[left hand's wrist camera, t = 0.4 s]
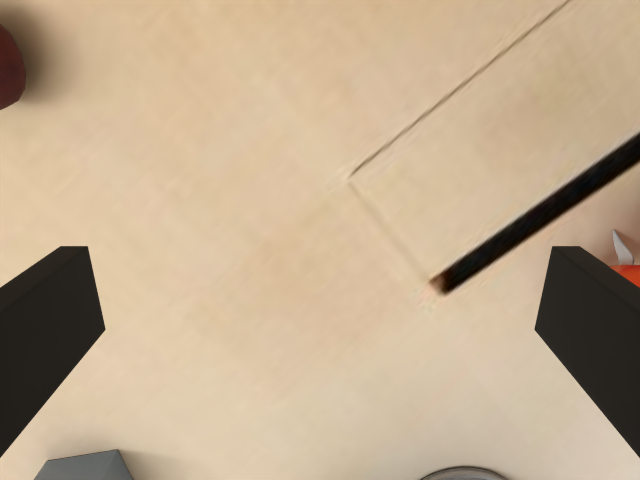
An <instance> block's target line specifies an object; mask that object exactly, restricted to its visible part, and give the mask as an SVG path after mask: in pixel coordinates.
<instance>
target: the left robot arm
mask: <svg viewBox="0 0 640 480" xmlns="http://www.w3.org/2000/svg"><path fill="white" fill-rule="evenodd" d="M104 331H105V325H104V320H103V316H102V311H101V306H100V302H99V297H98V292H97V288H96V283H95V278H94V274H93V269H92V264H91V260H90V255H89V250H88V246H60V247H59V248H57V249H56V250H54V251H53V252H52V253H50V254H49V255H47V256H46V257H44V258H43V259H41V260H40V261H38V262H37V263H36V264H34V265H33V266H31V267H30V268H28V269H27V270H25V271H24V272H22V273H21V274H19V275H18V276H17V277H15V278H14V279H12V280H11V281H9V282H8V283H6V284H5V285H3V286H2V287H1V288H0V458H1V456H2V455H3V454H4V453H5V451H6V450H7V449H8V448H9V447H10V445H11V444H12V443H13V442H14V440H15V439H16V438H17V437H18V436H19V434H20V433H21V432H22V431H23V430H24V428H25V427H26V426H27V425H28V423H29V422H30V421H31V420H32V419H33V417H34V416H35V415H36V414H37V412H38V411H39V410H40V409H41V408H42V406H43V405H44V404H45V403H46V401H47V400H48V399H49V398H50V397H51V395H52V394H53V393H54V392H55V391H56V389H57V388H58V387H59V386H60V384H61V383H62V382H63V381H64V380H65V378H66V377H67V376H68V375H69V373H70V372H71V371H72V370H73V369H74V367H75V366H76V365H77V364H78V362H79V361H80V360H81V359H82V358H83V356H84V355H85V354H86V353H87V352H88V350H89V349H90V348H91V347H92V345H93V344H94V343H95V342H96V341H97V339H98V338H99V337H100V336H101V334H102V333H103V332H104ZM535 331H536V332H537V333H538V334H539V336H540V337H541V338H542V339H543V341H544V342H545V343H546V344H547V345H548V347H549V348H550V349H551V350H552V352H553V353H554V354H555V355H556V356H557V358H558V359H559V360H560V361H561V362H562V364H563V365H564V366H565V367H566V369H567V370H568V371H569V372H570V373H571V375H572V376H573V377H574V378H575V380H576V381H577V382H578V383H579V384H580V386H581V387H582V388H583V389H584V391H585V392H586V393H587V394H588V395H589V397H590V398H591V399H592V400H593V401H594V403H595V404H596V405H597V406H598V408H599V409H600V410H601V411H602V412H603V414H604V415H605V416H606V417H607V419H608V420H609V421H610V422H611V423H612V425H613V426H614V427H615V428H616V430H617V431H618V432H619V433H620V434H621V436H622V437H623V438H624V439H625V440H626V442H627V443H628V444H629V445H630V447H631V448H632V449H633V450H634V451H635V453H636V454H637V455H638V456H639V458H640V288H639V287H638V286H637V285H635V284H634V283H632V282H631V281H629V280H628V279H626V278H625V277H623V276H622V275H621V274H619V273H618V272H616V271H615V270H613V269H612V268H610V267H609V266H607V265H606V264H604V263H603V262H602V261H600V260H599V259H597V258H596V257H594V256H593V255H591V254H590V253H588V252H587V251H586V250H584V249H583V248H581V247H580V246H552V250H551V255H550V260H549V264H548V269H547V274H546V278H545V283H544V288H543V292H542V297H541V302H540V306H539V311H538V316H537V320H536V325H535ZM422 480H506V479H505V478H503V477H501V476H500V475H498V474H496V473H493V472H491V471H487V470H483V469H478V468H454V469H448V470H443V471H440V472H437V473H434V474H432V475H429V476H427V477H425V478H424V479H422Z"/></svg>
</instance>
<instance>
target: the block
mask: <svg viewBox="0 0 640 480" xmlns="http://www.w3.org/2000/svg"><path fill="white" fill-rule="evenodd" d="M34 480H133V479H132V477H131V475H130V473H129V471H128V469H127V467H126V465H125V463H124V461H123V459H122V457H121V455H120V453H119V451H118V450H112V451H106V452H100V453H93V454H87V455H81V456H74V457H68V458H62V459H56V460H49V461H46V463H45V464H44V466H43V467H42V469H41V470H40V471H39V473H38V474H37V476H36V477H35V479H34Z"/></svg>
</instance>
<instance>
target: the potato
mask: <svg viewBox="0 0 640 480" xmlns="http://www.w3.org/2000/svg"><path fill="white" fill-rule="evenodd" d="M25 80H26V72H25V68H24V64H23V60H22V56H21V52H20V50H19V48H18V47H17V45H16V43H15V41H14V39H13V38H12V36H11V34H10V33H9V32H8V31H7V30H6V29H5V28H4V27H3V26H2V25H0V110H1V109H4V108H6V107H8V106H10V105H11V104H13V103H15V102H17V101H18V100H19V99H20V97H21V95H22V93H23V91H24V89H25Z"/></svg>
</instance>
